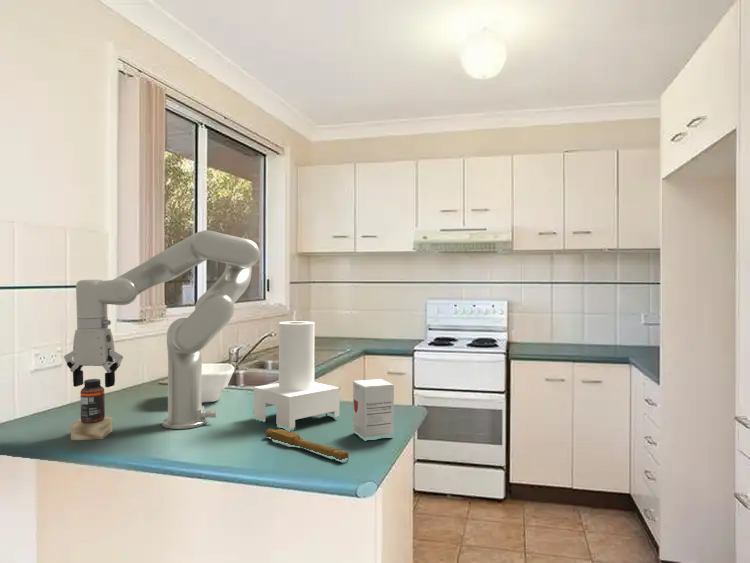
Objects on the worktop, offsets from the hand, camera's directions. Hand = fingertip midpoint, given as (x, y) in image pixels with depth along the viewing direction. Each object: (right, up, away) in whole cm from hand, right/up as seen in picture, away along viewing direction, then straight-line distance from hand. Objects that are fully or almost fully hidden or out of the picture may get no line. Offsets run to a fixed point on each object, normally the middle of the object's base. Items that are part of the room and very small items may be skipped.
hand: (94, 386), depth 153 cm
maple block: (-1, -14, 0) cm, 14 cm away
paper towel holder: (+53, -14, +18) cm, 58 cm away
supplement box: (+77, -14, +1) cm, 78 cm away
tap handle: (+59, -15, -11) cm, 62 cm away
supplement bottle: (0, -10, 0) cm, 10 cm away
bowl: (+17, -14, +42) cm, 47 cm away
